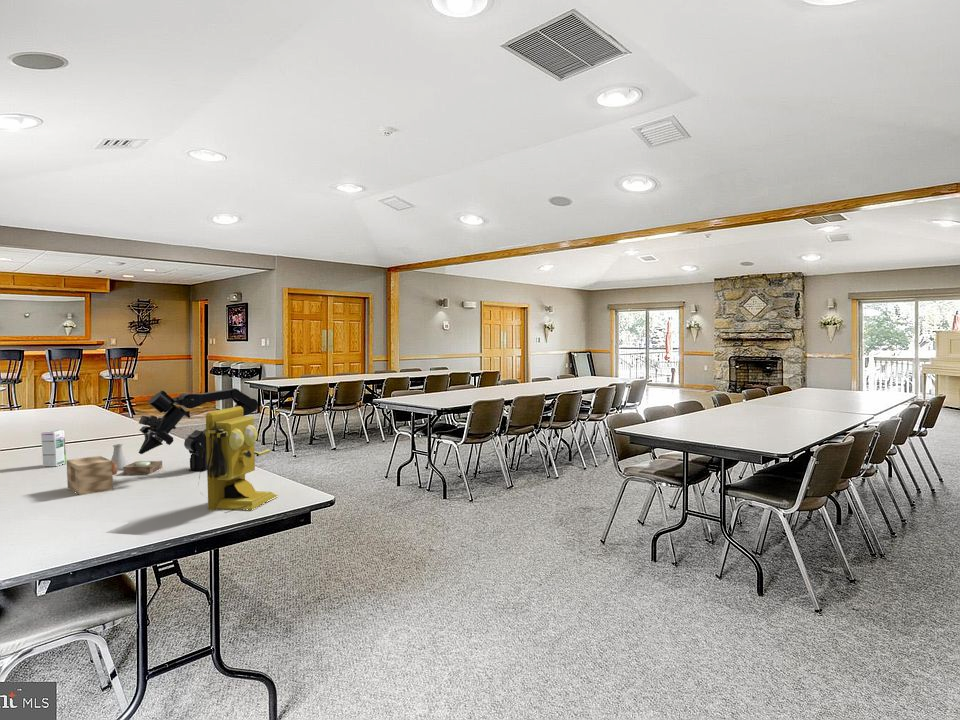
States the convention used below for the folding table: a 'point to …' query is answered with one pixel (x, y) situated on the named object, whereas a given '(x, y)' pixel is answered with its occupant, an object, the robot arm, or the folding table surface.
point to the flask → (119, 457)
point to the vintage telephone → (231, 460)
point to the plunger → (114, 468)
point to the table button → (142, 463)
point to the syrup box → (53, 448)
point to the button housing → (142, 468)
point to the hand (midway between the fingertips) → (139, 453)
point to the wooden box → (89, 474)
